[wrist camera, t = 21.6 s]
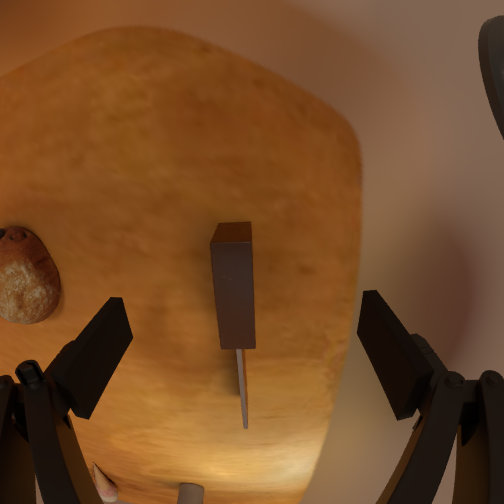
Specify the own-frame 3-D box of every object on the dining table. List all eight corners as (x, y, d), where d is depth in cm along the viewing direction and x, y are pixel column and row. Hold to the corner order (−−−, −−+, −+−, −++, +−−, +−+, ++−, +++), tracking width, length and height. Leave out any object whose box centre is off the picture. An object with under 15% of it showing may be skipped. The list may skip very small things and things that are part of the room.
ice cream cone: (81, 453, 38) (99, 491, 39) (82, 469, 34) (102, 505, 35) (102, 453, 40) (118, 490, 42) (105, 469, 36) (122, 505, 37)
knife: (218, 223, 22) (209, 243, 17) (251, 221, 22) (251, 241, 17) (234, 397, 28) (232, 432, 23) (257, 396, 28) (258, 432, 23)
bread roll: (31, 288, 28) (11, 342, 22) (-16, 229, 20) (-49, 284, 15) (84, 276, 27) (64, 340, 21) (32, 203, 20) (-8, 268, 14)
